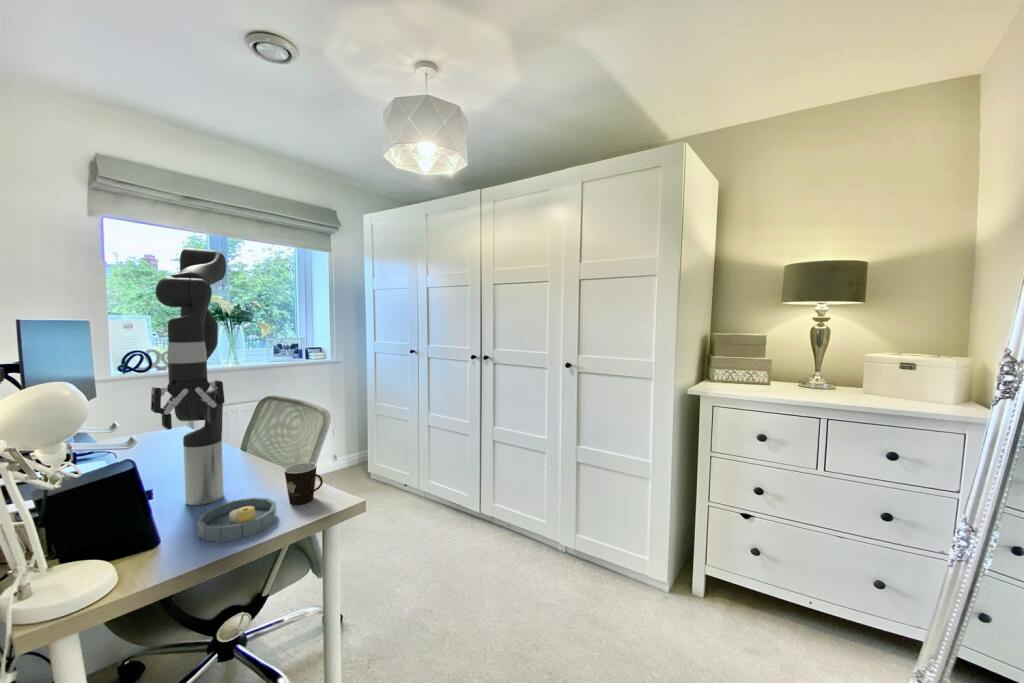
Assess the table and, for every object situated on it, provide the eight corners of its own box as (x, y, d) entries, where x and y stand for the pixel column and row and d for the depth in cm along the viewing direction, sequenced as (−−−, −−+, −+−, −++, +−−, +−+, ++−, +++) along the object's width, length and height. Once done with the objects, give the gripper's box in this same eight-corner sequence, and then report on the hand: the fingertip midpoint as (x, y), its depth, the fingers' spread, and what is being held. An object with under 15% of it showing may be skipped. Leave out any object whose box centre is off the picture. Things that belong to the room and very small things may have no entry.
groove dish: (189, 527, 109) (189, 514, 108) (259, 504, 122) (259, 492, 122) (213, 549, 99) (212, 534, 98) (286, 521, 112) (286, 509, 112)
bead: (240, 532, 104) (239, 514, 104) (234, 527, 107) (233, 509, 107) (257, 525, 108) (257, 508, 107) (251, 521, 110) (250, 504, 110)
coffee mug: (281, 500, 125) (280, 467, 124) (311, 491, 131) (310, 460, 130) (294, 513, 117) (293, 478, 116) (325, 504, 123) (325, 470, 122)
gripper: (154, 364, 94) (158, 434, 95) (227, 359, 106) (229, 422, 107) (145, 361, 99) (148, 429, 100) (215, 356, 110) (217, 417, 111)
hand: (190, 425), depth 103 cm, fingers open, 8 cm apart
